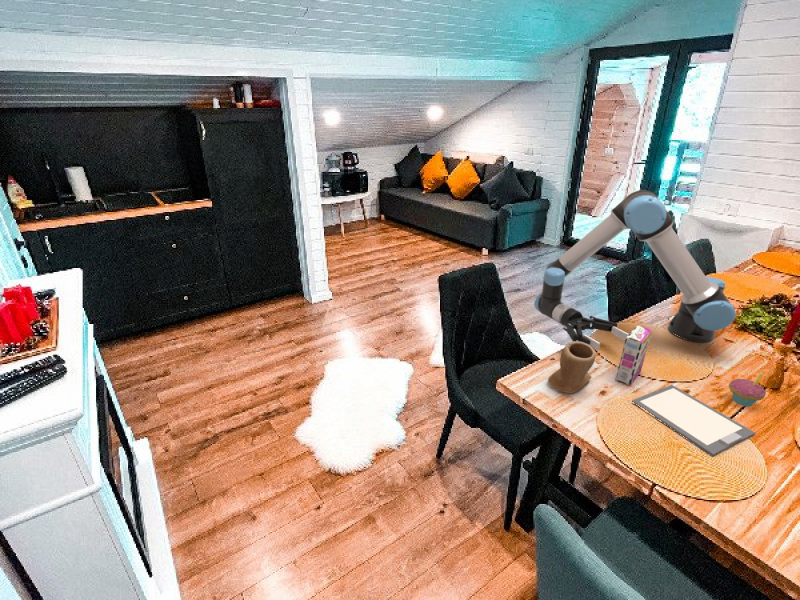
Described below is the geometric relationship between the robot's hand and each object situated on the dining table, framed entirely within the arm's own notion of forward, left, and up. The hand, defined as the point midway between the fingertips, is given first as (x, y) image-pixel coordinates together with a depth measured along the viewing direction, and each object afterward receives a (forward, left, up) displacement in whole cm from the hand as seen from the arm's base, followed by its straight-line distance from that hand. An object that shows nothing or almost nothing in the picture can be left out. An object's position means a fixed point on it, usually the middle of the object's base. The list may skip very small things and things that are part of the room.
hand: (613, 342), depth 142 cm
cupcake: (-19, +32, -9) cm, 38 cm away
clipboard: (+2, +30, -9) cm, 31 cm away
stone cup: (+20, +3, -9) cm, 22 cm away
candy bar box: (0, +8, -9) cm, 12 cm away
